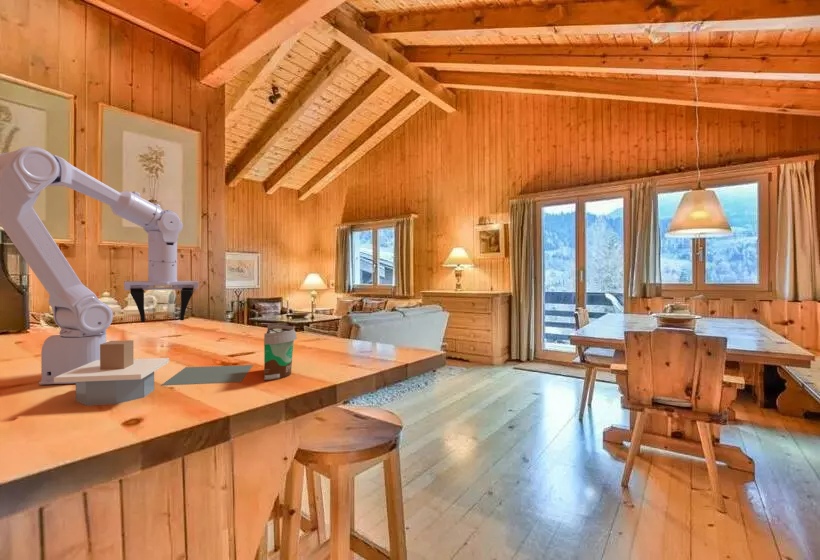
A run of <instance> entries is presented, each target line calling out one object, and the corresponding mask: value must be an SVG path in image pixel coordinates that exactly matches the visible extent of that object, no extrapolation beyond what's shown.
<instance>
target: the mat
mask: <svg viewBox="0 0 820 560" xmlns="http://www.w3.org/2000/svg"><path fill="white" fill-rule="evenodd" d="M253 366H254V365H253V364H245V365H244V364H239V365H218V366H217V365H215V366H213V365H212V366H186V367H183V368H182V369H181V370H180V371H178V372H177V373H176V374H174V375H173V376H171V377H170V378H169V379H167V380H166V381H165V382H162V384H161V386H183V385H207V384H226V383H227V384H228V383H229V384H230V383H231V384H233V383H242V382H243V380H244V378H245V377H246V376H247V374H248V373H249V372H250V371H251V369H252V368H253Z"/></svg>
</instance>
